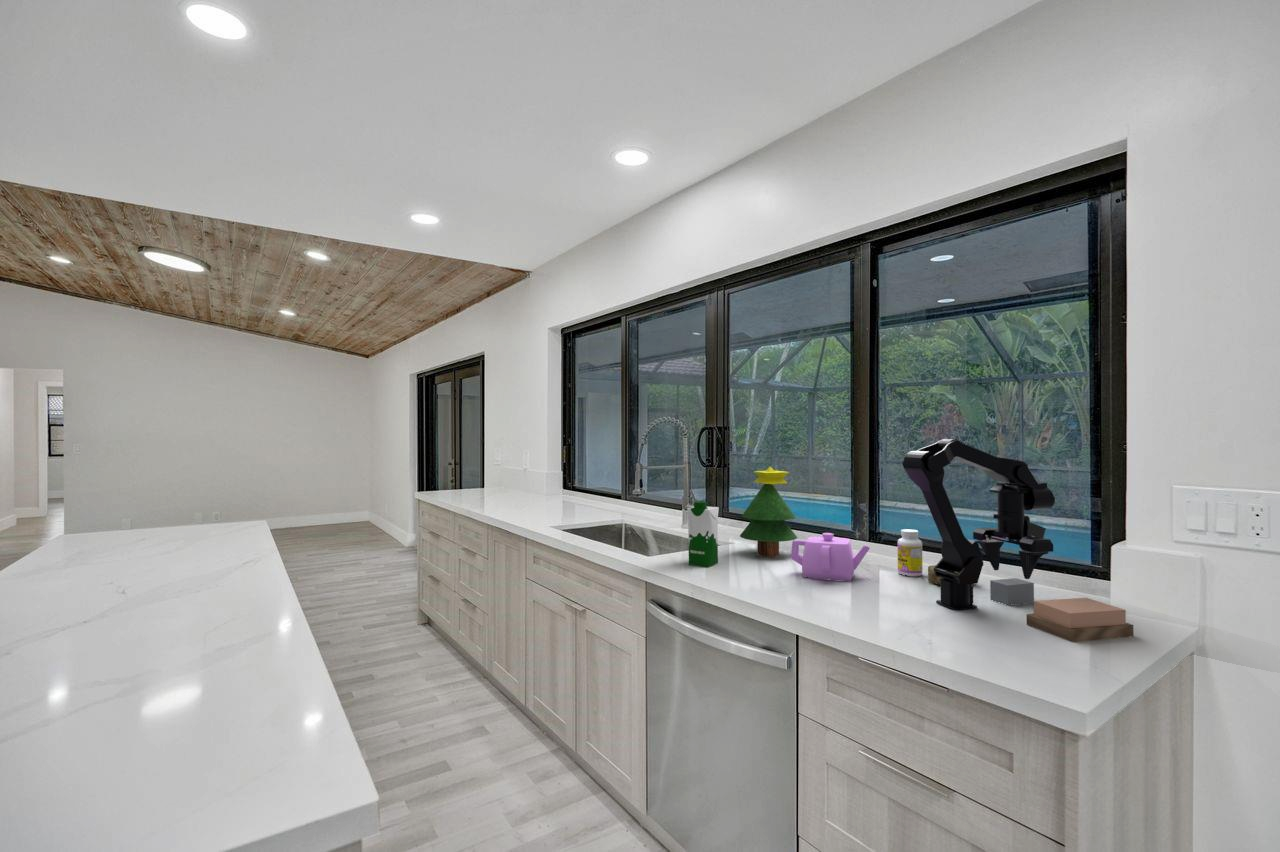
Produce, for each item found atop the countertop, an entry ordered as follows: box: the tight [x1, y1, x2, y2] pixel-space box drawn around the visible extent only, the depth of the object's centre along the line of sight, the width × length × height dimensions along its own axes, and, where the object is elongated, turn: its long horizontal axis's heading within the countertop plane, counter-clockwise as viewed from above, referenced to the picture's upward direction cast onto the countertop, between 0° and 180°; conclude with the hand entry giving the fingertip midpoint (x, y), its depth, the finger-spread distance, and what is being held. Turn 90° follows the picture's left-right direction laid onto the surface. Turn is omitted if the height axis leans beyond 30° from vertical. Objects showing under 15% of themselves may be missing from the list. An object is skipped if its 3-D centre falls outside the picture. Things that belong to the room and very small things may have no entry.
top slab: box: [1033, 597, 1127, 628], centre depth 126 cm, size 13×9×3 cm
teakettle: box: [790, 532, 871, 582], centre depth 175 cm, size 17×17×12 cm
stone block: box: [927, 564, 959, 586], centre depth 165 cm, size 6×12×5 cm, turn 95°
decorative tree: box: [739, 466, 798, 558], centre depth 204 cm, size 19×19×30 cm
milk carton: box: [686, 500, 720, 568], centre depth 191 cm, size 9×9×20 cm
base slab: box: [1025, 612, 1135, 643], centre depth 126 cm, size 15×11×3 cm
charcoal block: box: [989, 577, 1035, 606], centre depth 147 cm, size 8×5×5 cm, turn 105°
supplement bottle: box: [897, 528, 923, 577], centre depth 175 cm, size 7×7×13 cm
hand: (1011, 574), depth 147 cm, fingers open, 9 cm apart
